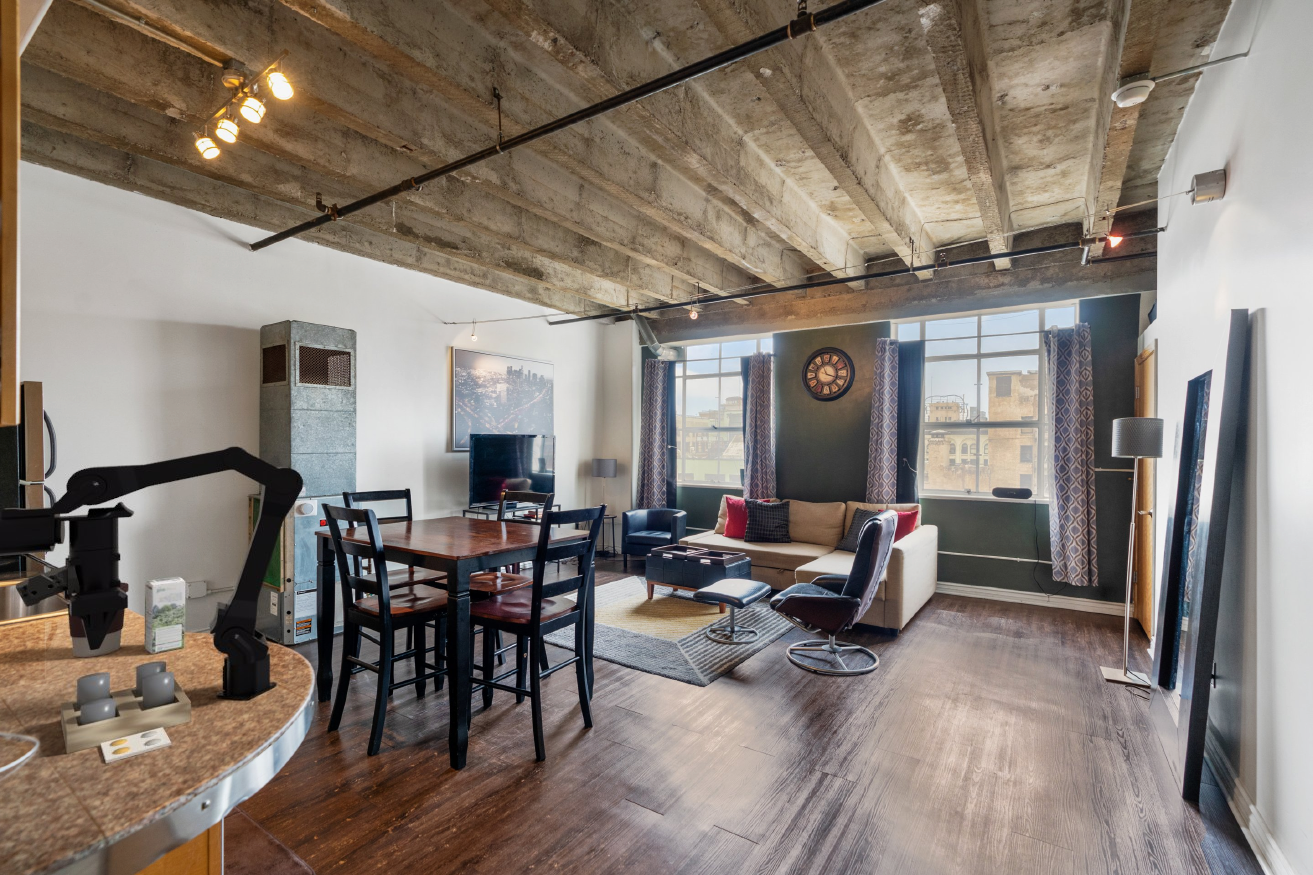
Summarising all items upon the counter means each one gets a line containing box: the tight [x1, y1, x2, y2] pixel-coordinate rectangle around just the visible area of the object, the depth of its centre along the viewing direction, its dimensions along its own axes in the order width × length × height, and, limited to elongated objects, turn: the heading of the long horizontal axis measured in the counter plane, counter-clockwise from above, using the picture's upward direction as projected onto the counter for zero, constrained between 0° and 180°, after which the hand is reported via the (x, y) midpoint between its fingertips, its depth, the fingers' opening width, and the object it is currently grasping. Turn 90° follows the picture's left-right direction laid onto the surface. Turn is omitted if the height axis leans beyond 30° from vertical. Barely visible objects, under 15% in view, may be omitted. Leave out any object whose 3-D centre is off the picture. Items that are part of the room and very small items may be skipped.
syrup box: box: [144, 576, 186, 655], centre depth 132 cm, size 6×6×14 cm
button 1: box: [76, 672, 111, 709], centre depth 97 cm, size 4×4×4 cm
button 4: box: [143, 671, 175, 708], centre depth 97 cm, size 4×4×4 cm
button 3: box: [135, 660, 167, 695], centre depth 102 cm, size 4×4×4 cm
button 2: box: [81, 698, 115, 726], centre depth 92 cm, size 4×4×4 cm
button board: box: [60, 678, 192, 754], centre depth 97 cm, size 14×14×3 cm
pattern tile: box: [100, 727, 172, 764], centre depth 89 cm, size 7×7×1 cm
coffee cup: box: [64, 580, 129, 658], centre depth 130 cm, size 10×10×15 cm
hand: (94, 649), depth 97 cm, fingers closed
